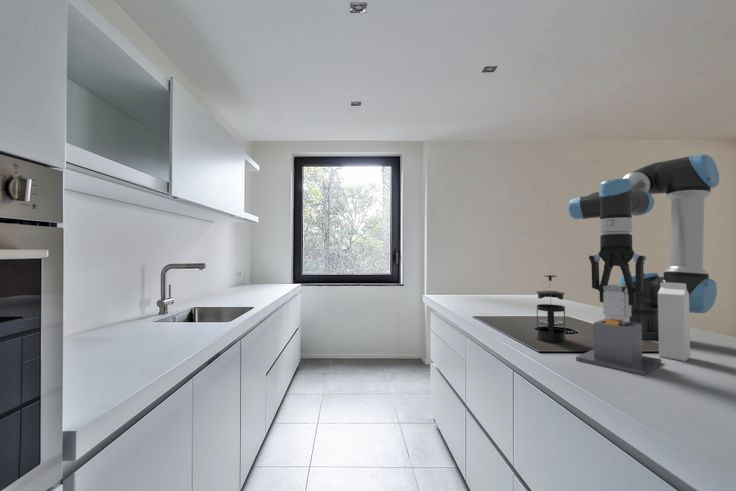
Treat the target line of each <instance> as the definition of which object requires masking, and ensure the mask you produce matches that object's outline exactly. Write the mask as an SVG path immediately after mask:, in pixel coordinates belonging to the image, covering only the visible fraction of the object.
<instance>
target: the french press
mask: <svg viewBox="0 0 736 491" xmlns="http://www.w3.org/2000/svg"><path fill="white" fill-rule="evenodd" d="M543 277H546V278H548V281H549V290H543V291H541V290H540V291H539V290H538V291H536V294H537V298H538V299H539V300H540V299H543V298H549V303H548V304H547V303H546V304H545V303H543V304H542V303H541V304H540V303H539V304H537V305H536V339H537V340H538V341H541V342H546V343H550V344H551V343H554V344H562V343H566V342H567V339H566V306H564V305H562V304H561V305H560V304H552V298H555V299H556V298H557V299H559V300H564V295H565V292H562V291H557V290H552V279H553V278H557V275H552V274H545V275H543ZM538 311H543V312H547V319H546V318H545V319H544V318H543V319H539V315H538V314H539V313H538ZM556 312H557V313H559V312H560V313H561V312H563V321H562V320H557V319H555V313H556ZM539 324H541V325H546V326H547V327H539ZM555 326H563V329H560V328H555Z"/></svg>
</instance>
